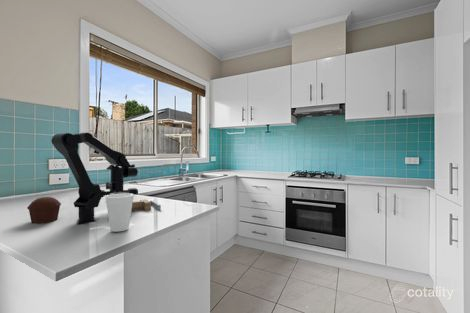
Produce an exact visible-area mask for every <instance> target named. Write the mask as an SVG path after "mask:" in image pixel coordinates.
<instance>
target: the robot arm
mask: <svg viewBox="0 0 470 313" xmlns="http://www.w3.org/2000/svg"><path fill="white" fill-rule="evenodd" d="M50 141H51V142H50V143H51V144H52V145H53V147H54V148H55V150H56V151H57V152H58V153H60V154H61V155H62V156H63V157H64V159H65V161H66V162H67V165H68V167H69V169H70V171H71V173H72V175H73V177H74V179H75V181H76V183H77V185H78V197H77V199H75V201H74V202H73V206H74V207H75V208H78V219H77V222H76V224H77V225H80V224H88V223H93V222H94V223H95V222H96V217H95V208H98V207H99V205H100V202H101V199H102V198H104V197H106V196H107V195H112V194H123V193H130V194H131V193H132V194H134V196H135V195H139V189H138V188H136V187H129V188H127V189H124V185H125V183H124V179H126V178H136V177H137V175H138V174H139V173H138V172H139V171H138V168H137V167H136V164H130V162H129V161H128V159H127V156H126V154H124V153H123V152H120V151H118V150H114V149H112V148H111V147H109V146H108V145H106V143H103V142H102V141H101V140H100V139H98V138H96V137H95V136H94V135H93V134H92V133H90V132H80V133H74V134H72V133H70V132H67V133H66V132H65V133H63V132H62V133H56V134H54V135H53V136H52V138H51V140H50ZM83 143H84V144H85V145H86V146H88V147H89V148H91V149H93V150H94V151H96V152H97V153H99V154H100V155H101V156H103V157H104V159H105V160H106V161H107V162H108V163H109V166H108V167H106V170H108V171H110V182H105V189H101V186H100V185H99V184H96V183H93V182H92V180H91V178H90V176H89V174H88V172H87V169H86V168H85V166H84V163H83V161H82V159H81V157H80V154H79V144H83ZM105 190H106V191H105ZM107 190H108V191H107Z"/></svg>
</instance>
